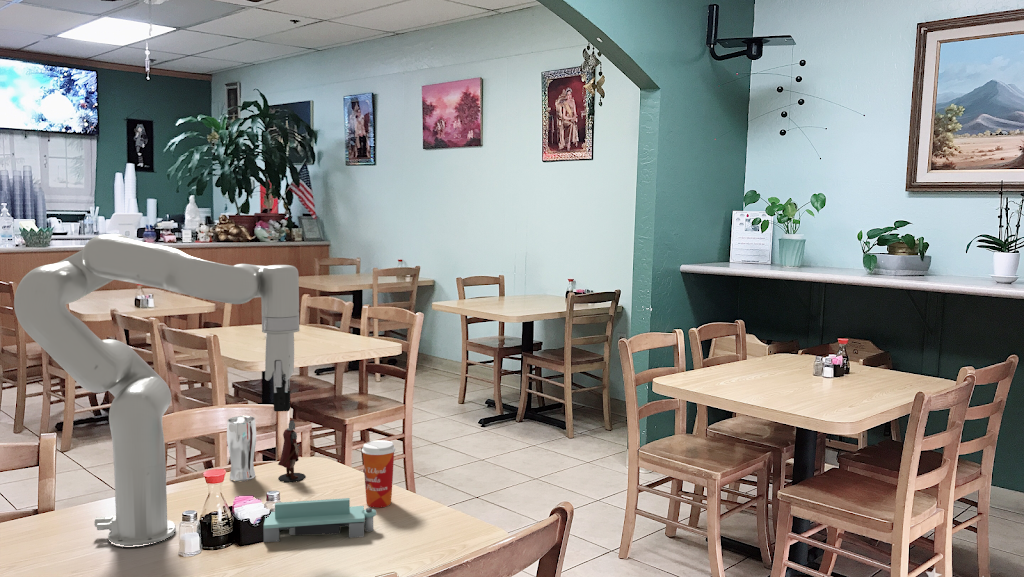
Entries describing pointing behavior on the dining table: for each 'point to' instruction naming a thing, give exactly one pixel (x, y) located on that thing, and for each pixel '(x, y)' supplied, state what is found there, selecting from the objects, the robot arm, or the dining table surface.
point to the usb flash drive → (316, 529)
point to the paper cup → (378, 472)
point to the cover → (316, 513)
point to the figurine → (290, 455)
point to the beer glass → (241, 447)
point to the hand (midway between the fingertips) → (282, 410)
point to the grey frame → (354, 527)
